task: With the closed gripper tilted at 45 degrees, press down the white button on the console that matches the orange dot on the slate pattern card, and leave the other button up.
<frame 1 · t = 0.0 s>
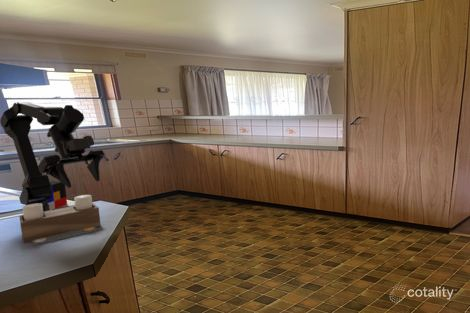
hand: (84, 184, 96), 15 cm above the counter, tool tilted 35°, fingers open, 9 cm apart
puzzle toy: (47, 208, 128), on the counter
button console: (62, 230, 100), on the counter
unmarked button: (33, 215, 95), point 6 cm above the counter, slide at 0.0 cm
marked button: (83, 205, 103), point 6 cm above the counter, slide at 0.0 cm
pattern card: (65, 235, 94), on the counter
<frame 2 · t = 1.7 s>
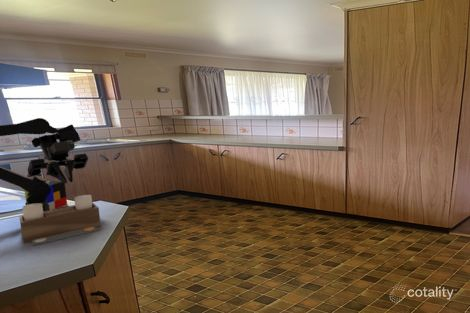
hand: (69, 182, 108), 14 cm above the counter, tool tilted 45°, fingers closed
nothing on the counter moved.
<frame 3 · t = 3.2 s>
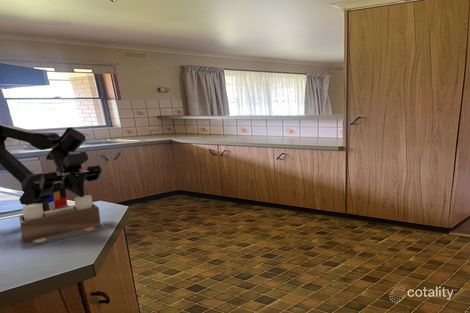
hand: (82, 196, 103), 10 cm above the counter, tool tilted 45°, fingers closed, pressing on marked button
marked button: (83, 206, 103), point 6 cm above the counter, slide at 0.1 cm, touching gripper
everything else where it was.
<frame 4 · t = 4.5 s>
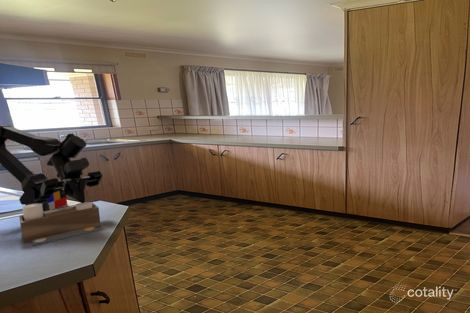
hand: (83, 202, 103), 8 cm above the counter, tool tilted 45°, fingers closed
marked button: (84, 213, 103), point 4 cm above the counter, slide at 2.5 cm
everything else where it was.
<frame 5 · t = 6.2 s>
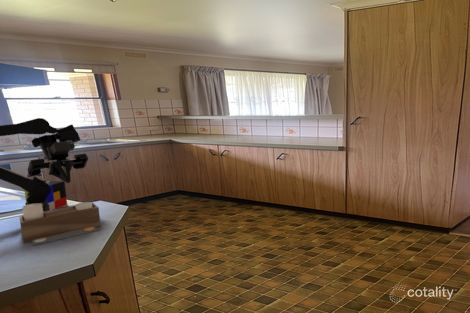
hand: (69, 182, 108), 14 cm above the counter, tool tilted 45°, fingers closed
nothing on the counter moved.
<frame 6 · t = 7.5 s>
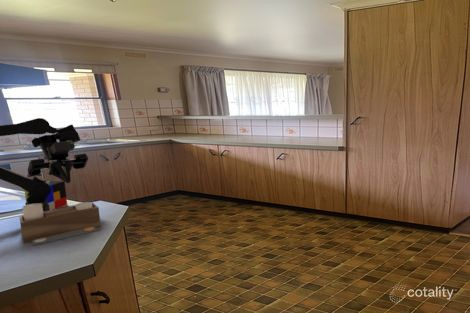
hand: (69, 182, 108), 14 cm above the counter, tool tilted 45°, fingers closed
nothing on the counter moved.
at the end: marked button slide at 2.5 cm; unmarked button slide at 0.0 cm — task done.
